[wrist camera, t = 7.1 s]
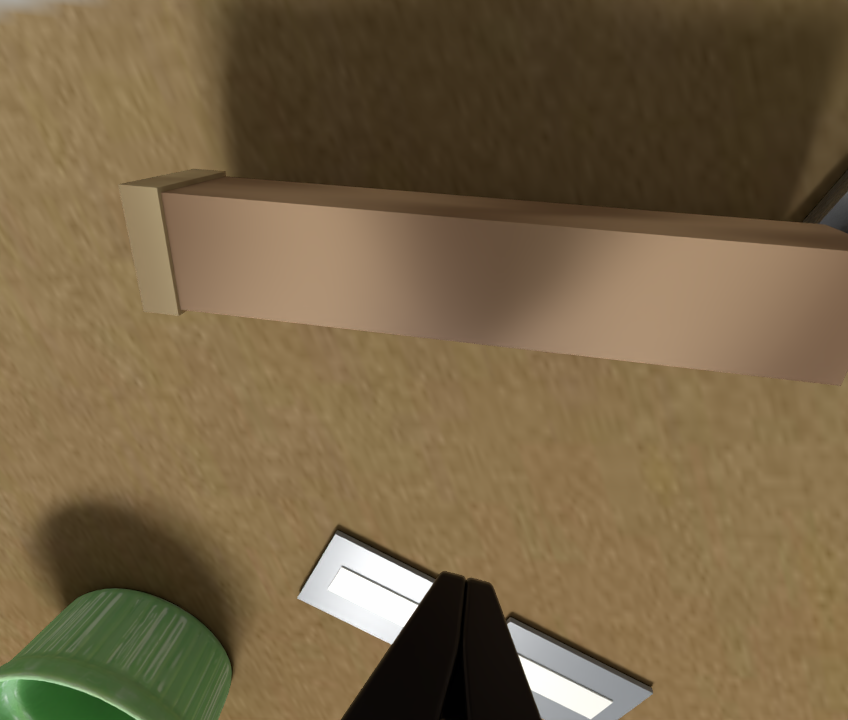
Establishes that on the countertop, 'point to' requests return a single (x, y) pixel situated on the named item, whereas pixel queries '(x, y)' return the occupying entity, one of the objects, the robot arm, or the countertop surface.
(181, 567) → the countertop surface
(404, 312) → the bar
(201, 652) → the ramekin
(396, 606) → the label tile
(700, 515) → the countertop surface
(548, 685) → the label tile
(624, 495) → the countertop surface
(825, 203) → the post on base plate
